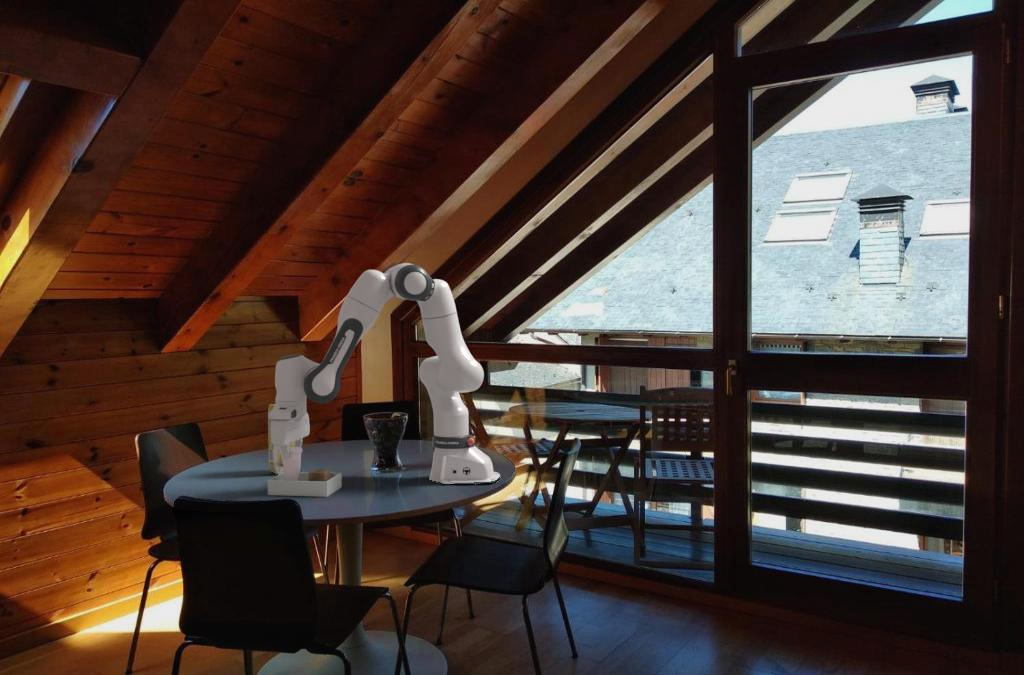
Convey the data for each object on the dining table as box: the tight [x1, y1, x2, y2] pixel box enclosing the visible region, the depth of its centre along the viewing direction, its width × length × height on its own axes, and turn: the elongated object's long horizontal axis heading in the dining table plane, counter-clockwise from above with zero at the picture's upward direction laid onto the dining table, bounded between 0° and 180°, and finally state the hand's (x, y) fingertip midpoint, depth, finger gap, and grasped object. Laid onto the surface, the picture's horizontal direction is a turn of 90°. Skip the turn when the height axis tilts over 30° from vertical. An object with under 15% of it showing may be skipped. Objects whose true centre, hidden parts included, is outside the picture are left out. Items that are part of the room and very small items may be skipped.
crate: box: [267, 471, 343, 498], centre depth 242 cm, size 18×12×5 cm, turn 82°
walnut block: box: [308, 468, 332, 482], centre depth 242 cm, size 5×5×6 cm
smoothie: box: [281, 443, 304, 481], centre depth 242 cm, size 6×6×14 cm
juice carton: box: [267, 403, 302, 475], centre depth 271 cm, size 9×8×24 cm
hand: (291, 456), depth 242 cm, fingers closed on smoothie, 6 cm apart
